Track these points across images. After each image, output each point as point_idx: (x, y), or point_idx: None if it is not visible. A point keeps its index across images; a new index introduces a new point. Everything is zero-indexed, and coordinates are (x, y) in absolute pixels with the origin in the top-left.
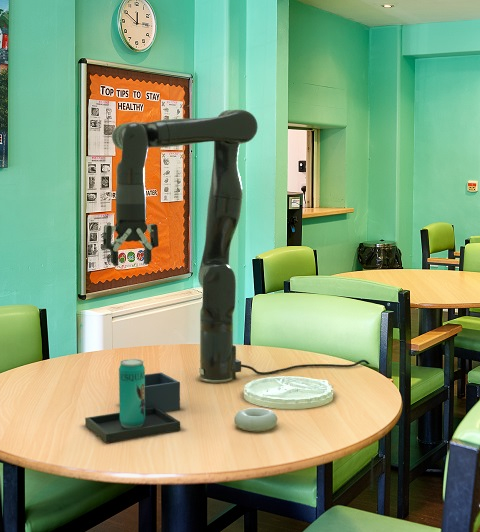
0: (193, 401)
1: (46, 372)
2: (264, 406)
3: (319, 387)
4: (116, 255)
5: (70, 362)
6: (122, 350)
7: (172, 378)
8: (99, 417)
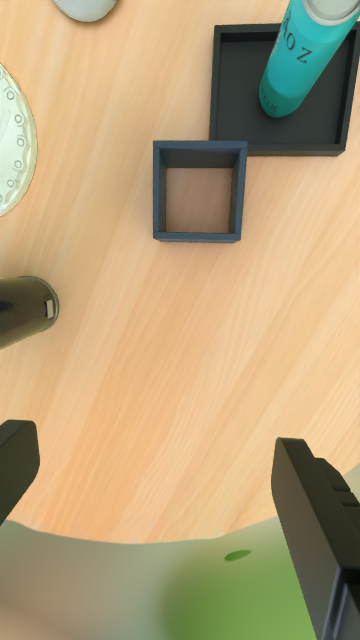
0: (119, 199)
1: (253, 475)
2: (23, 95)
3: None
4: (339, 514)
5: (198, 507)
6: (101, 530)
7: (154, 178)
8: (320, 144)
